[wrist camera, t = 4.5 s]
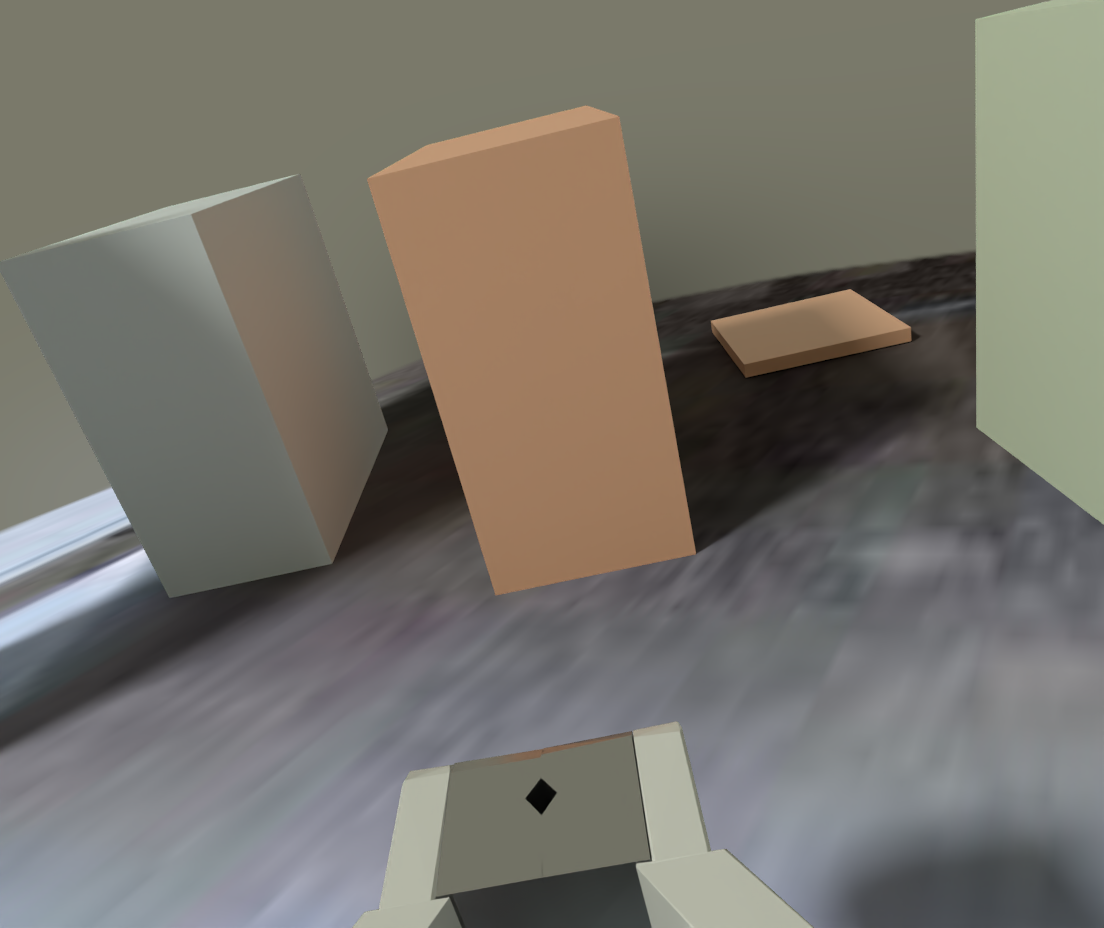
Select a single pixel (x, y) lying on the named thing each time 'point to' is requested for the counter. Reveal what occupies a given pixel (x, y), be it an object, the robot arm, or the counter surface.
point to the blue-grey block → (212, 380)
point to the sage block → (1042, 241)
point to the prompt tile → (807, 332)
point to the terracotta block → (541, 344)
